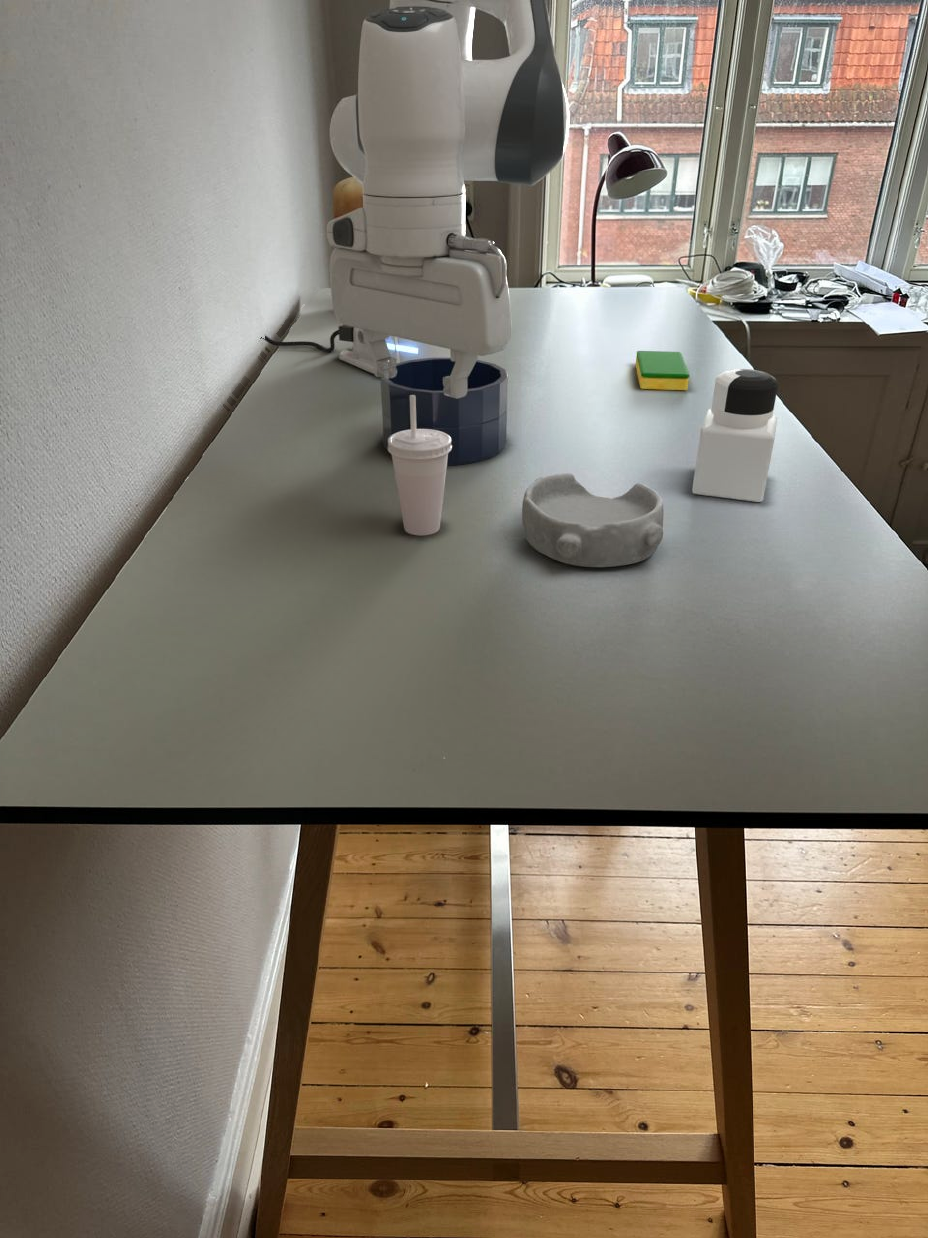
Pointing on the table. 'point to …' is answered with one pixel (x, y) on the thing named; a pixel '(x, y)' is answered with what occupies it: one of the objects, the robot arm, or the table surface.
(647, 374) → the dish sponge
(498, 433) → the pot
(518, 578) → the table surface
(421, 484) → the smoothie
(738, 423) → the container
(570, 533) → the dish
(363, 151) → the robot arm
